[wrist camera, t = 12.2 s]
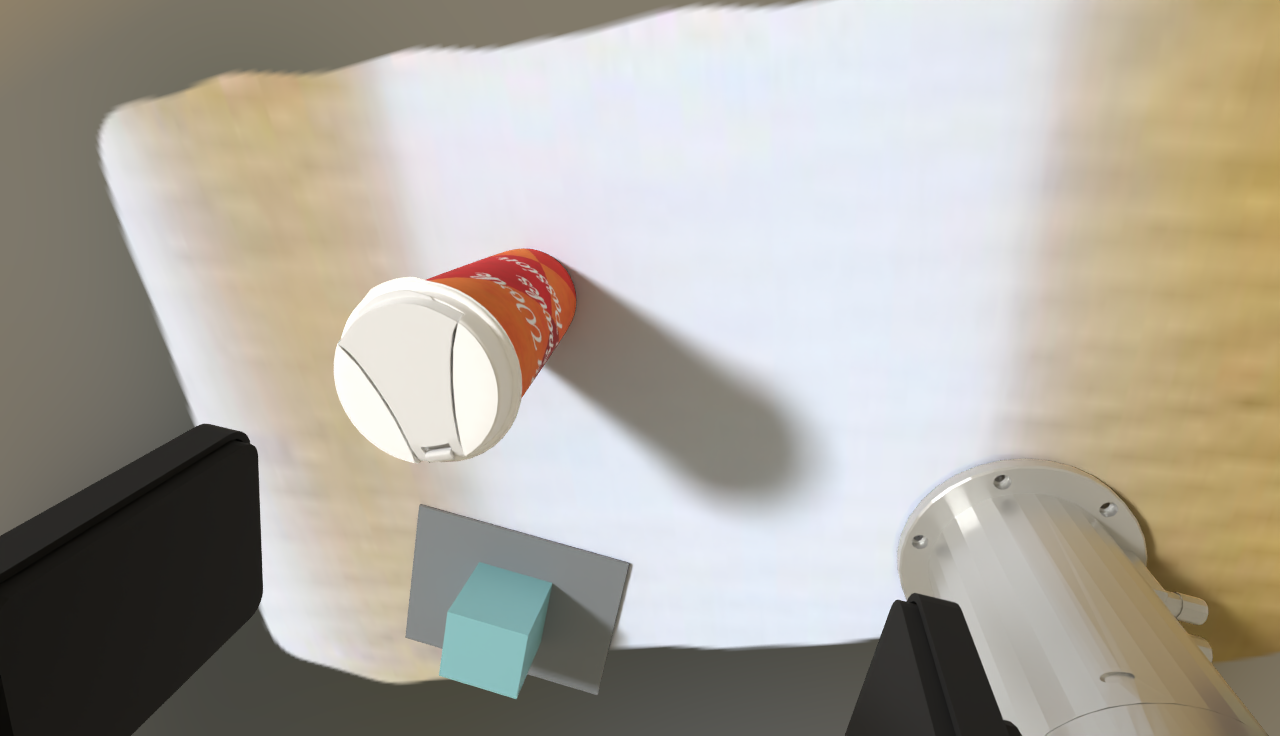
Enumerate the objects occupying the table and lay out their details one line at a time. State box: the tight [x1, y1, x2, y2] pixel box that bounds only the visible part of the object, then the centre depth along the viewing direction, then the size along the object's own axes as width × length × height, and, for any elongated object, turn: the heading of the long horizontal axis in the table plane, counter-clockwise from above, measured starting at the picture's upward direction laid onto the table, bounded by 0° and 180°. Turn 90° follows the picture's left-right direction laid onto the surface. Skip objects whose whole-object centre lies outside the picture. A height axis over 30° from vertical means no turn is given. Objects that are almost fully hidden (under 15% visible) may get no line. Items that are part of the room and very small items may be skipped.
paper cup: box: [334, 249, 576, 463], centre depth 34 cm, size 8×8×14 cm
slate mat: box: [405, 504, 629, 695], centre depth 48 cm, size 14×11×1 cm
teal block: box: [439, 562, 552, 699], centre depth 45 cm, size 5×5×5 cm
